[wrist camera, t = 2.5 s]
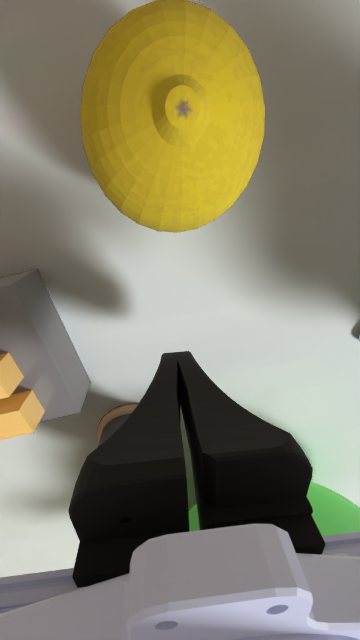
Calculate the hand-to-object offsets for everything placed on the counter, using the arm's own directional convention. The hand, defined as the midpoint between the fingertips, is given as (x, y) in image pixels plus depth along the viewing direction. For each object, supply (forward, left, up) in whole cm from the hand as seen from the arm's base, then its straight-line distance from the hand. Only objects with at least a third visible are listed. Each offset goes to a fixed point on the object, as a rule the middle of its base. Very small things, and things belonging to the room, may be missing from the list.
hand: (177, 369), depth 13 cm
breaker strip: (+8, +4, -4) cm, 10 cm away
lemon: (+4, -8, -4) cm, 10 cm away
